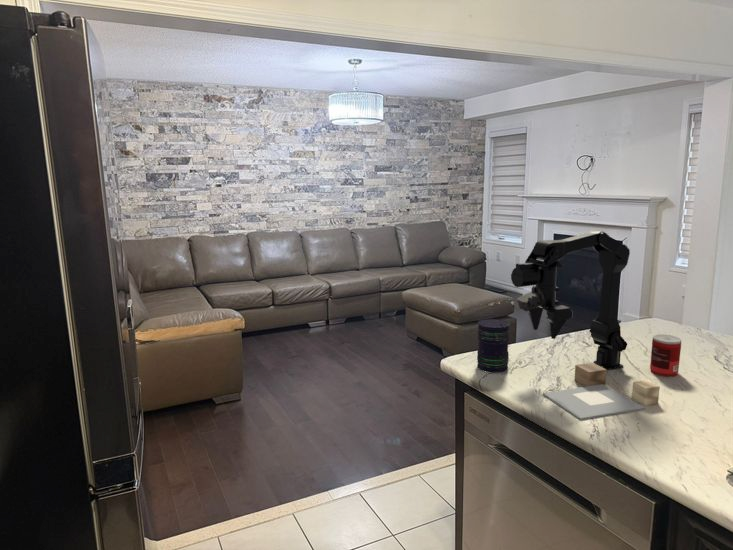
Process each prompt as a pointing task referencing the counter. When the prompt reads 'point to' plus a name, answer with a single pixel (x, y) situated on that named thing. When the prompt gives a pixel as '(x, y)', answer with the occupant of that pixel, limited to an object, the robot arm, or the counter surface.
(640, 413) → the counter surface
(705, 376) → the counter surface
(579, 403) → the build mat
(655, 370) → the canned food
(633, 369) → the counter surface
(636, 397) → the maple block
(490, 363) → the black jar
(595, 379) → the walnut block
